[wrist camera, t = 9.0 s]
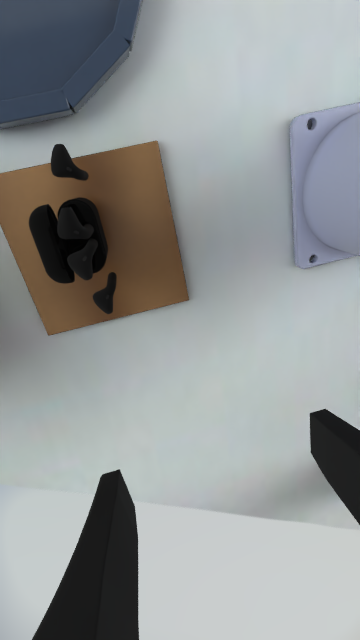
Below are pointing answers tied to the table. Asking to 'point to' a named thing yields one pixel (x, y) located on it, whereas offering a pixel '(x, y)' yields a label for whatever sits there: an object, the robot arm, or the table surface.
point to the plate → (59, 54)
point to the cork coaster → (119, 228)
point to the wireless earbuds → (72, 235)
